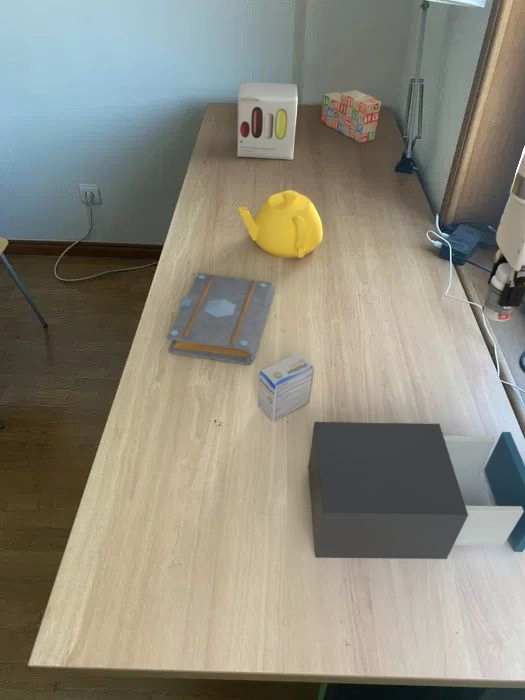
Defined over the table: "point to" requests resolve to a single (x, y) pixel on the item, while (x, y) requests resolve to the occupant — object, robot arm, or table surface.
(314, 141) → the table surface
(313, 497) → the drawer cabinet
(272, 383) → the medicine box
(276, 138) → the supplement box
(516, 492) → the drawer
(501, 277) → the pill bottle
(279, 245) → the teapot
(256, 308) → the book
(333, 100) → the stack of blocks
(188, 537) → the table surface
